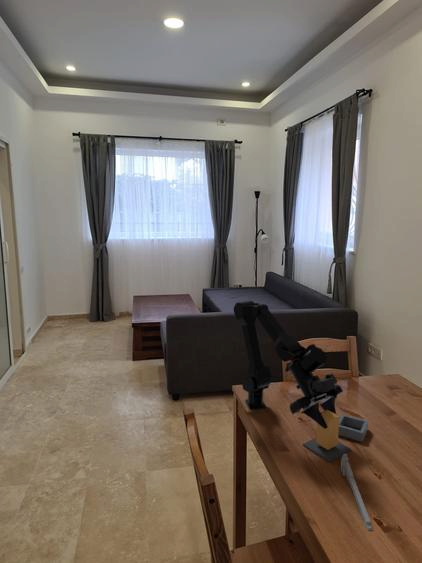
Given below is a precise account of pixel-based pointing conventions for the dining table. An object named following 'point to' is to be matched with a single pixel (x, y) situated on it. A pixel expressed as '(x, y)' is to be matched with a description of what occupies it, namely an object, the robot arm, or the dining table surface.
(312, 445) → the mat
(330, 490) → the dining table surface
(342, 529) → the dining table surface
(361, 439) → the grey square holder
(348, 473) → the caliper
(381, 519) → the dining table surface
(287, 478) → the dining table surface
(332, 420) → the block
